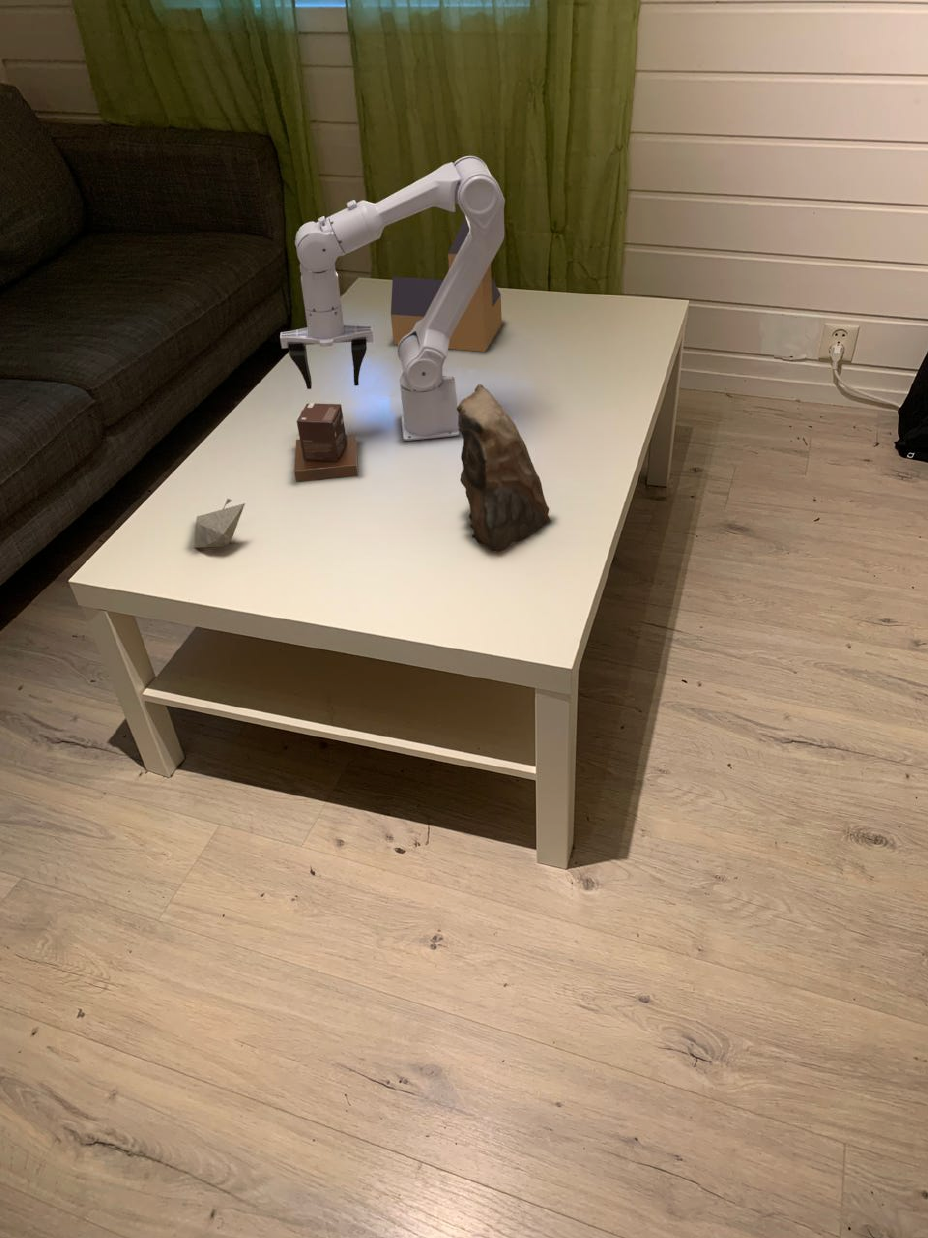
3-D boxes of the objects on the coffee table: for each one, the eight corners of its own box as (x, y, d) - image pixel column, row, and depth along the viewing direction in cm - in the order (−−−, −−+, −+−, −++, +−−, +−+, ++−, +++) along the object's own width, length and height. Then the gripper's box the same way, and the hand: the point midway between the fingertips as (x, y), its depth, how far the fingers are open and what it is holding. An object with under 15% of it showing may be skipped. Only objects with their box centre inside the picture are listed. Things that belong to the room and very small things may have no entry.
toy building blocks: (485, 351, 194) (479, 220, 178) (393, 344, 198) (380, 215, 182) (501, 324, 203) (497, 196, 187) (413, 317, 207) (402, 192, 191)
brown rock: (493, 559, 144) (487, 436, 131) (434, 524, 151) (424, 405, 138) (553, 521, 150) (554, 401, 137) (494, 489, 157) (489, 372, 144)
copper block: (356, 443, 170) (355, 433, 169) (357, 475, 163) (356, 465, 162) (297, 449, 170) (295, 439, 169) (296, 481, 162) (294, 471, 161)
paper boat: (165, 543, 149) (189, 496, 154) (199, 568, 153) (221, 521, 158) (212, 522, 142) (235, 474, 146) (247, 548, 145) (268, 500, 150)
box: (338, 462, 162) (331, 422, 158) (302, 460, 163) (295, 420, 159) (348, 443, 167) (342, 403, 162) (313, 441, 168) (306, 402, 163)
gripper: (274, 318, 153) (287, 399, 162) (370, 311, 153) (377, 392, 162) (276, 299, 158) (289, 378, 167) (368, 293, 159) (376, 372, 168)
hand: (332, 384), depth 165 cm, fingers open, 7 cm apart
